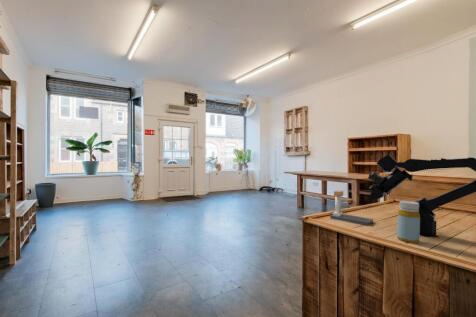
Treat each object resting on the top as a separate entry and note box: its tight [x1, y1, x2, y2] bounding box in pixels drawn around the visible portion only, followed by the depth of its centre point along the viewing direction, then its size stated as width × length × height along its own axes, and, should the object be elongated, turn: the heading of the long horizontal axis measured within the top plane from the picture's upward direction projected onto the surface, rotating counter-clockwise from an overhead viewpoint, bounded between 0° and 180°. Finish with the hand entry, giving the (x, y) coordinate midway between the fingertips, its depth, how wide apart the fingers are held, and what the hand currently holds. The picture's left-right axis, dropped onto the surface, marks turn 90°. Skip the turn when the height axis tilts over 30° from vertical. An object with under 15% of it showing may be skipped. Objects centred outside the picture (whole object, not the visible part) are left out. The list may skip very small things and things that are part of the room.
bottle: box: [396, 200, 421, 244], centre depth 93 cm, size 7×7×15 cm
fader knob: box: [332, 190, 344, 216], centre depth 127 cm, size 4×5×12 cm
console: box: [329, 213, 374, 226], centre depth 122 cm, size 18×9×2 cm, turn 47°
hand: (367, 200), depth 117 cm, fingers closed
